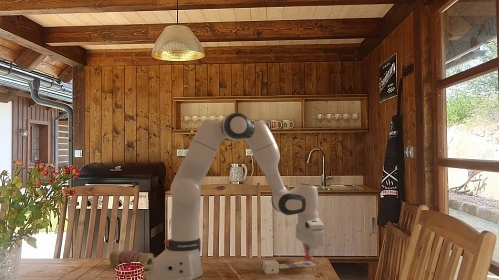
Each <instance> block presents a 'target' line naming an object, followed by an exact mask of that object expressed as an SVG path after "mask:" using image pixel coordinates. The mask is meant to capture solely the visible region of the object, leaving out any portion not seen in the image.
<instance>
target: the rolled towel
mask: <svg viewBox="0 0 499 280" xmlns="http://www.w3.org/2000/svg"><path fill="white" fill-rule="evenodd" d="M108 258H109V264H110V265H112V266H114V265H115V266H116V265H119V264H122V263H131V262H140V263H142V264H144V266H145V268H144V269H148V270H151V268H152V263H153V261H154V259H155V256H154V254H153V253H152V252H149V253H144V252H137V251H135V250H129V251H128V250H127V251H126V250H120V249H114V250H112V251H111V252H110V253H109V257H108Z"/></svg>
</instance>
